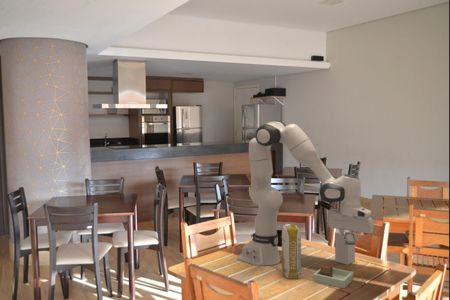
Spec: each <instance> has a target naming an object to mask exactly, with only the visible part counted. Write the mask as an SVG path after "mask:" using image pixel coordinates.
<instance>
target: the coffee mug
mask: <svg viewBox="0 0 450 300" xmlns="http://www.w3.org/2000/svg"><path fill="white" fill-rule="evenodd" d="M282 229H283V225H277V234H278V245H277V246H278V248H280V247H281V248H282Z"/></svg>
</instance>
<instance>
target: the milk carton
mask: <svg viewBox="0 0 450 300" xmlns="http://www.w3.org/2000/svg"><path fill="white" fill-rule="evenodd" d="M345 232H354V233H355V234H356V232H355V231H348V230H344V231H343V233H344V235H345ZM334 246H335V247H334V257H335V259H334V260H335V261H334V262H336V263H339V264H344V265H347V266H348V265H350V264H353V263H354V262H355V261H356V244H355V245H347V244H345V239H342V235H341V234H340V232H339V229H335V231H334Z"/></svg>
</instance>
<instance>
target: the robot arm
mask: <svg viewBox="0 0 450 300" xmlns="http://www.w3.org/2000/svg"><path fill="white" fill-rule="evenodd" d="M254 136H255V137H253V138H252V139H250V141H249V142H248V160H249V166H250V176H251V179H250V180H251V181H250V189H249V192H248V195H249V198H250V199H251V201H252V202H253V203H254V204H256V205H257V206H258V210H257V214H256V216H255V218H254V230H255V232H254V233H252V234H251V235H250V237H251V238H252V239H251V240H250V241H248V242H247V243H246V244H245V245H244V246H243V247H242V249H241V253H240V254H238V256H237V258H236V259H237V260H238V261H241V262H244V263H247V264H250V265H253V266H257V267H260V266H272V265H277V264H279V263H280V262H282V259H281V257H280V254H279V253H280V252H279V246H277V245H278V234H277V226H278V222H277V221H278V215H279V210H280V208H281V206H282V205H283V202H284V197H283V195H282V193H281V192H280V190H278V189H277V188H275V187H273V186H272V184H271V183H272V177H273V174H274V170H273V169H274V168H273V161H272V153H271V147H272V146H273V145H277V144H279V143H281V144H283V145H285V147H286V149H287V150H288V151H289V153H290V154H291V156H292V157H293V158H294V159H295V160H296V162H298V163H299V164H302V165H304V166H306V167H308V168H309V169H311V171H312V172H313V173H314V175H315V176H316V178H317V179H318V180H319V182H320V184H321V186H320V188H319V196H320V198H321V199H322V200H323V201H324V202H327V203H337V202H340V207H339V208H334V207H332V208H330V209H328V220H327V226H328V227H329V228H330V229H335V230H337V229H339V232H340V234H341V235H342V239H345V235H344V233H343V231H344V230H348V231H354V232H355V233H356V236H355V237H354V241H355V242H359V240H360V239H359V237H360V236H361V234H369V235H370V234H372V233H373V232H374V230H375V229H374V226H375V225H374V218H373V217H372V216H371V215H372V210H370V209H367V208H365V207H363V206H362V205H361V196H362V189H361V180H360V178H359V177H357V176H356V175H352V174H343V175H341V176H339V177H337V178H336V176H334V175H333V174H332V173H331V172H330V171H329V169H328V167H327V166H326V165H325V164H324V162H323V161H322V159H321V158H320V156H319V154H318V152H317V149H316V148H315V146H314V144H313V143H312V141H311V139H310V138H309V136H308V135H307V134H306V133H305V132H304V130H303V129H302V128H301V127H300V126H299V125H297V124H296V123H289V124H287V125H286V124H285V123H284V122H282V121H280V120H279V121H278V120H275V121H268V122H266V123H264V124H262V125H260V126H258V128H256V131H255V134H254Z"/></svg>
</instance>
